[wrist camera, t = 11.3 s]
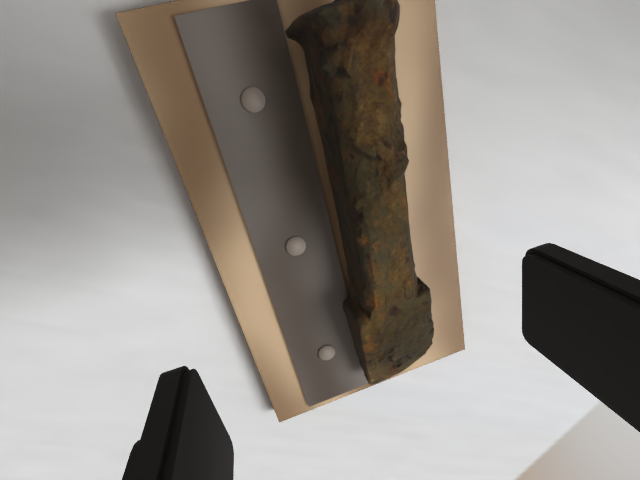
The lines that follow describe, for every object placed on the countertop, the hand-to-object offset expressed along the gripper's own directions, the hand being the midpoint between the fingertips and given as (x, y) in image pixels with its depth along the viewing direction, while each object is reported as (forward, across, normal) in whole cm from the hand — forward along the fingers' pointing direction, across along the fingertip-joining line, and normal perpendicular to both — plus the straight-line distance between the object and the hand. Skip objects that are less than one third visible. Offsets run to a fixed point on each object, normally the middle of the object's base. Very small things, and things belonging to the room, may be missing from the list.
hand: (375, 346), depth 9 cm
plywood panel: (+10, -2, 0) cm, 10 cm away
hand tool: (+8, 0, 0) cm, 8 cm away
